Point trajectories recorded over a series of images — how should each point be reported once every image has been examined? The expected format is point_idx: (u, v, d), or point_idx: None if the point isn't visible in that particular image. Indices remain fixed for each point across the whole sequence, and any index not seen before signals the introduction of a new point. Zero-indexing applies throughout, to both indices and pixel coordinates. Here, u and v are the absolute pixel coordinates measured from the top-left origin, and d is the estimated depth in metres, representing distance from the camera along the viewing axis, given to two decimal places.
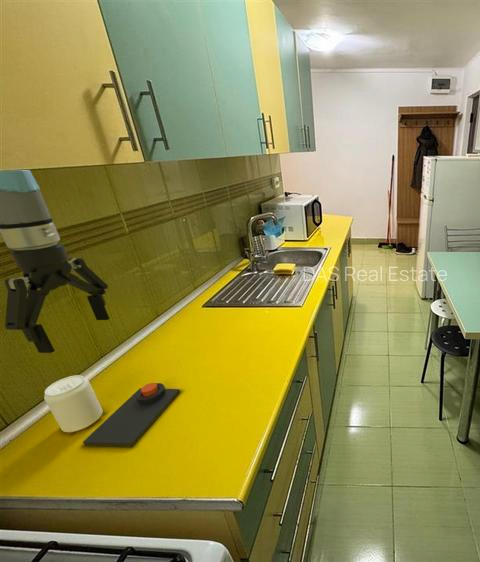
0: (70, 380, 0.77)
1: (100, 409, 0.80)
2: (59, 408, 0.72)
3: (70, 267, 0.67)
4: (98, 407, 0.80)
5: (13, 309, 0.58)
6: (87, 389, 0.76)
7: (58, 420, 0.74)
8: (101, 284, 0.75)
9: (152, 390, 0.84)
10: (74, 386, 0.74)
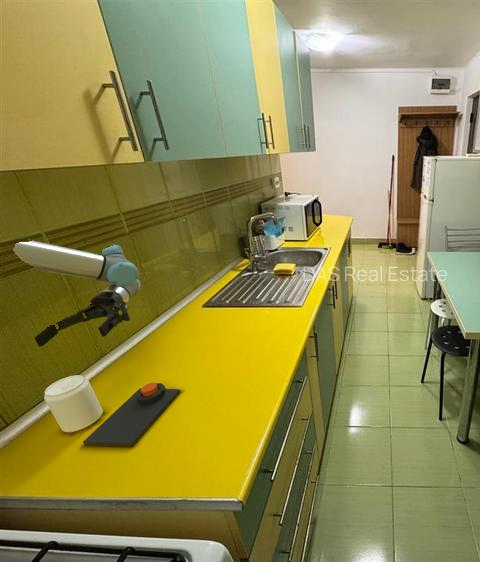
0: (70, 380, 0.77)
1: (100, 409, 0.80)
2: (59, 408, 0.72)
3: None
4: (98, 407, 0.80)
5: None
6: (87, 389, 0.76)
7: (58, 420, 0.74)
8: None
9: (152, 390, 0.84)
10: (74, 386, 0.74)
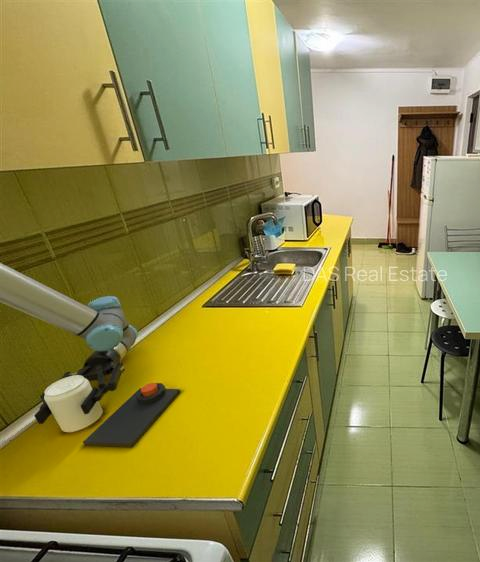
0: (70, 380, 0.77)
1: (100, 409, 0.80)
2: (59, 408, 0.72)
3: None
4: (98, 407, 0.80)
5: (117, 378, 0.84)
6: (87, 389, 0.76)
7: (58, 420, 0.74)
8: None
9: (152, 390, 0.84)
10: (74, 386, 0.74)
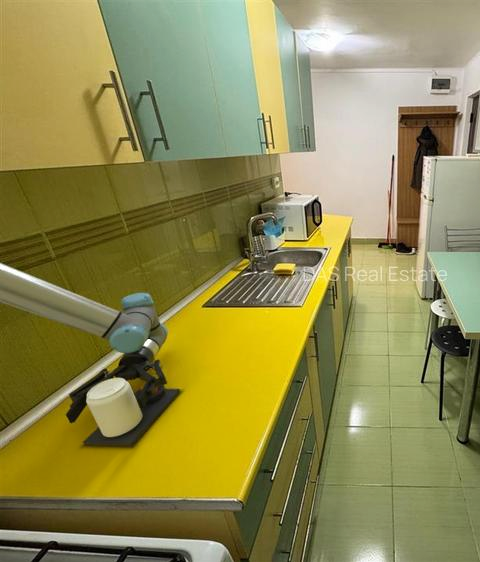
0: (111, 383, 0.74)
1: (140, 413, 0.77)
2: (102, 412, 0.69)
3: None
4: (139, 411, 0.77)
5: None
6: (128, 392, 0.73)
7: (100, 424, 0.71)
8: None
9: None
10: (116, 389, 0.72)
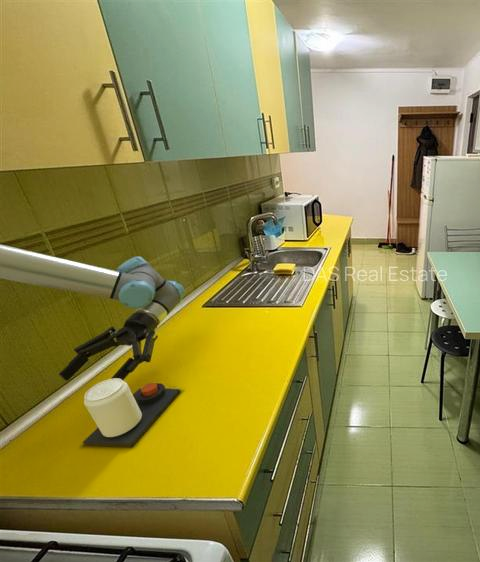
0: (108, 383, 0.73)
1: (139, 412, 0.77)
2: (100, 413, 0.69)
3: None
4: (138, 411, 0.77)
5: (151, 348, 0.85)
6: (126, 393, 0.73)
7: (99, 425, 0.71)
8: None
9: (152, 390, 0.84)
10: (114, 390, 0.71)
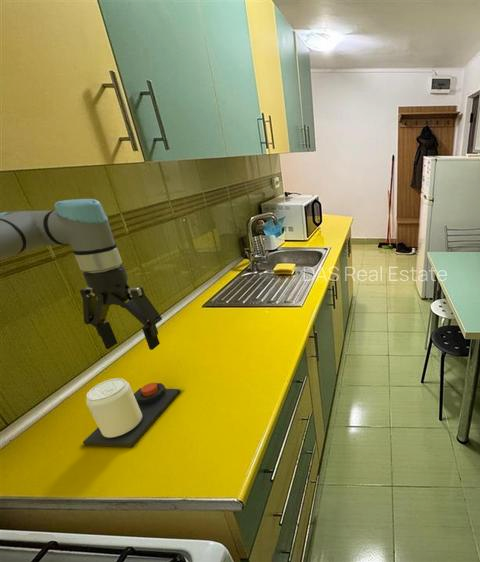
0: (111, 383, 0.74)
1: (140, 413, 0.77)
2: (101, 412, 0.69)
3: None
4: (139, 412, 0.77)
5: (150, 308, 0.75)
6: (128, 393, 0.73)
7: (99, 425, 0.71)
8: None
9: (152, 390, 0.84)
10: (116, 390, 0.71)
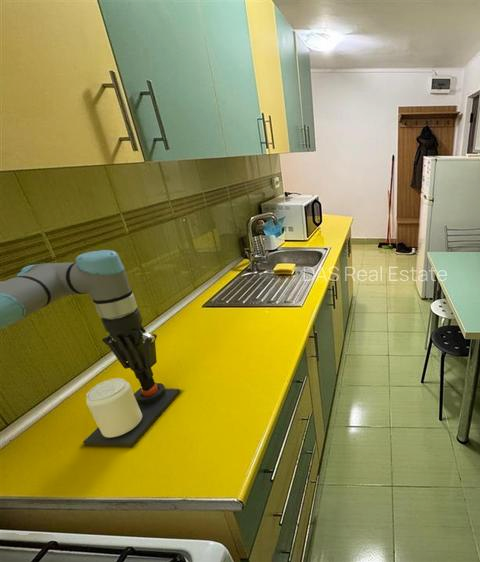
0: (111, 383, 0.74)
1: (140, 413, 0.77)
2: (101, 412, 0.69)
3: None
4: (139, 412, 0.77)
5: (153, 354, 0.80)
6: (128, 393, 0.73)
7: (99, 425, 0.71)
8: None
9: (152, 391, 0.84)
10: (116, 390, 0.71)
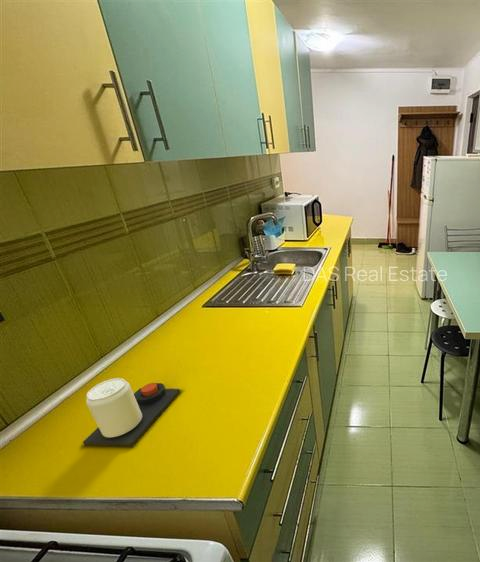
0: (111, 383, 0.74)
1: (140, 413, 0.77)
2: (101, 412, 0.69)
3: None
4: (139, 412, 0.77)
5: None
6: (128, 393, 0.73)
7: (99, 425, 0.71)
8: None
9: (152, 390, 0.84)
10: (116, 390, 0.71)
